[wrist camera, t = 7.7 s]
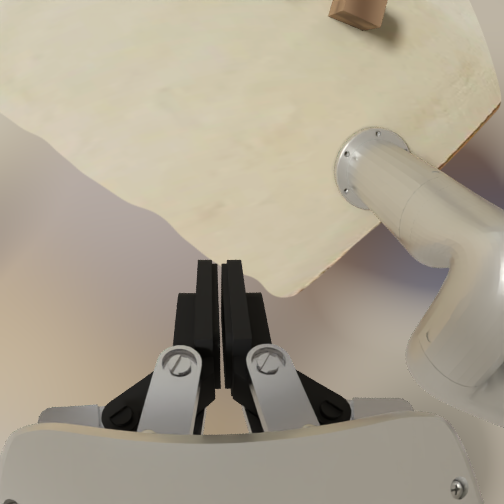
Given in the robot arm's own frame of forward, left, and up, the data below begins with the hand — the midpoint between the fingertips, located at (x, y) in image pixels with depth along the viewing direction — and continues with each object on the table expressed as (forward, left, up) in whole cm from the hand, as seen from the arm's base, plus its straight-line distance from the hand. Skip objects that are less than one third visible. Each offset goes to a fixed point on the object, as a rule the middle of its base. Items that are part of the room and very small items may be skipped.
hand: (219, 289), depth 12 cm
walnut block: (-8, -24, -29) cm, 39 cm away
